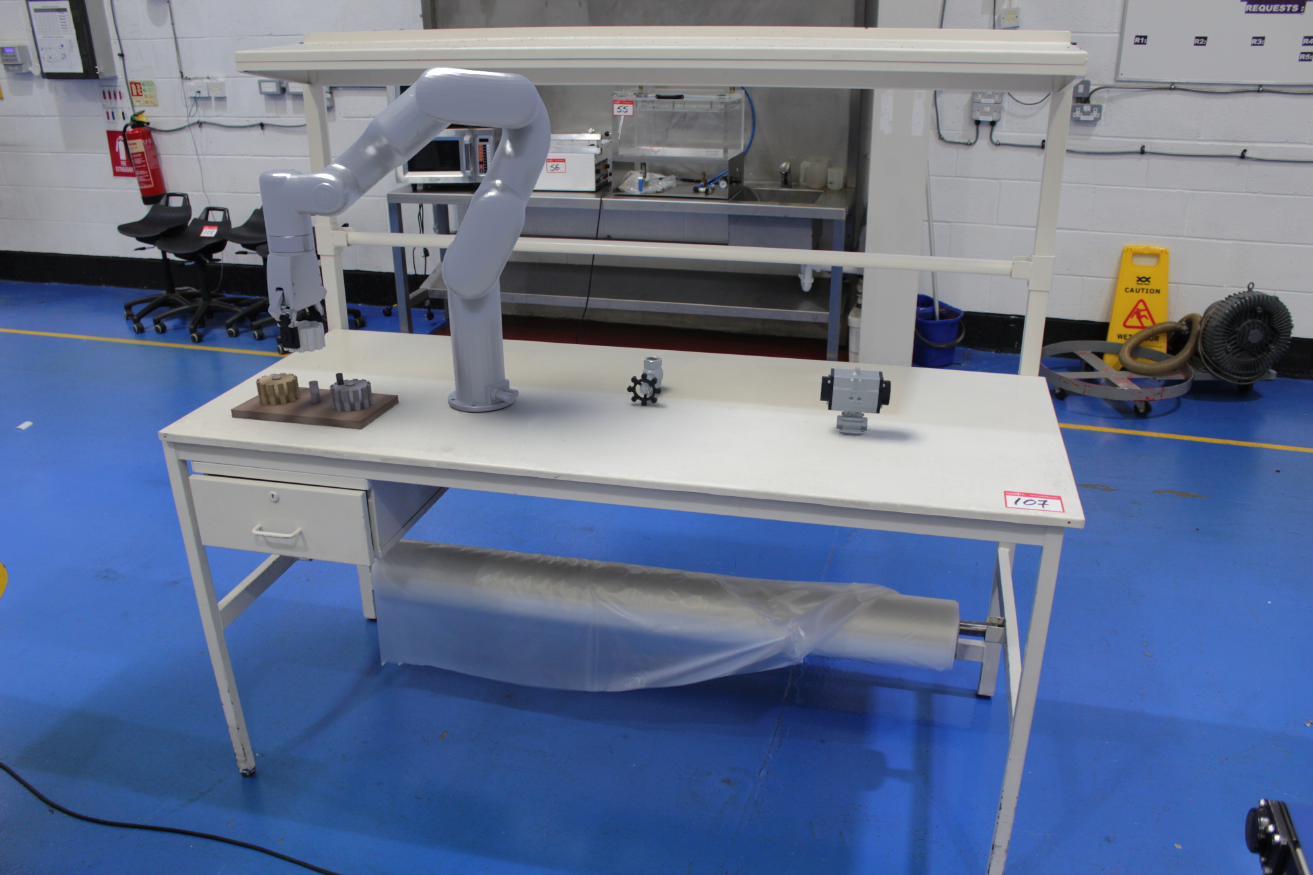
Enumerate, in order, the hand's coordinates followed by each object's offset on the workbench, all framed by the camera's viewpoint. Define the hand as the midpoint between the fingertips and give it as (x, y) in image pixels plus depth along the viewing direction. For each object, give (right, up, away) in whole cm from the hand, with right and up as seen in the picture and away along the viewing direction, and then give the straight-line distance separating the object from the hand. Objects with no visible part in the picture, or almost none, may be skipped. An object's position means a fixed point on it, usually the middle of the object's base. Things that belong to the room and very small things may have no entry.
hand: (304, 341), depth 159 cm
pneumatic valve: (+99, -17, -4) cm, 100 cm away
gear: (0, -1, 0) cm, 1 cm away
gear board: (0, -12, +5) cm, 13 cm away
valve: (+63, -10, +13) cm, 65 cm away
